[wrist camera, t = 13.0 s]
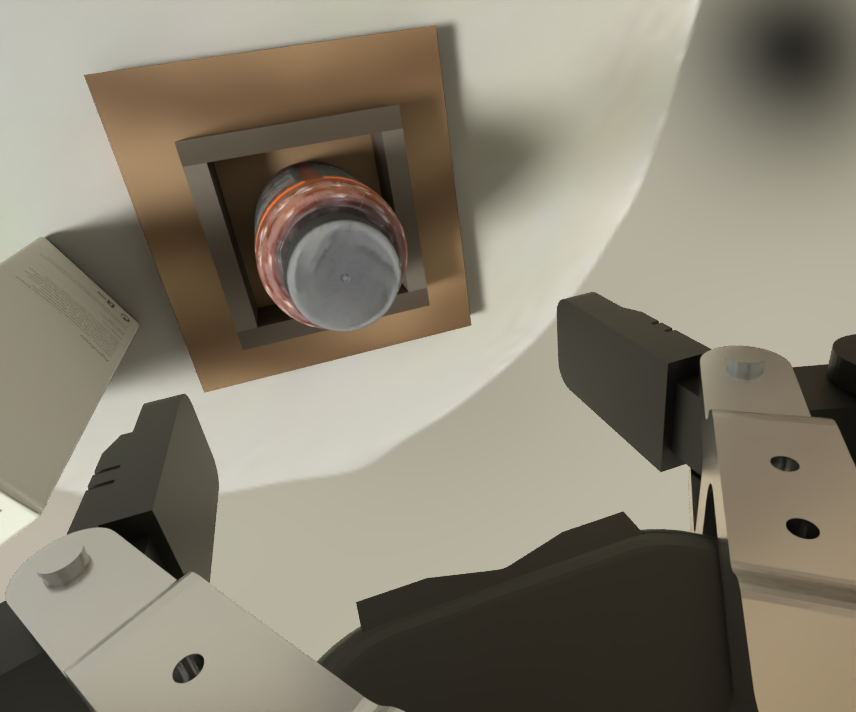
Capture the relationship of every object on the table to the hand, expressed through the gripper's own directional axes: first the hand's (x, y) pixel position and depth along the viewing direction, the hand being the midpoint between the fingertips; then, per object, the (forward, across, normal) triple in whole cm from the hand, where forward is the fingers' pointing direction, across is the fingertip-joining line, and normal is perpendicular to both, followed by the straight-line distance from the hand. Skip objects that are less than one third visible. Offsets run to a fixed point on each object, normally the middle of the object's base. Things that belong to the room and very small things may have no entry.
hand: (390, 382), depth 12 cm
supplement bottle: (+19, 0, 0) cm, 19 cm away
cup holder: (+21, 0, 0) cm, 21 cm away
